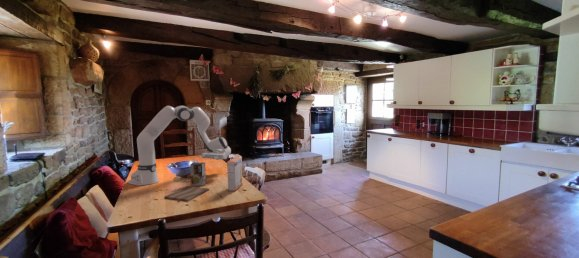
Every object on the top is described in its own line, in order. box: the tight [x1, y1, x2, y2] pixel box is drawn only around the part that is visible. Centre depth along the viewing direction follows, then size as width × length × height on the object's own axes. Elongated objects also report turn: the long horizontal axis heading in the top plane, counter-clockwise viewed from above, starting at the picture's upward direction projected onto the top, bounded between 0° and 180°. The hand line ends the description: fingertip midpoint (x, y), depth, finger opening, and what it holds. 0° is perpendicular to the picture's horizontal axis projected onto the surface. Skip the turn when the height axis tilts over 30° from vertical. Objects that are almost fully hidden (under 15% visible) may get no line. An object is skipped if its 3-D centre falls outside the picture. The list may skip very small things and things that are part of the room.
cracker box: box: [226, 156, 243, 192], centre depth 195 cm, size 14×6×21 cm, turn 170°
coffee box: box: [189, 161, 207, 187], centre depth 203 cm, size 9×6×16 cm
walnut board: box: [164, 185, 210, 202], centre depth 183 cm, size 18×22×1 cm
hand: (208, 157), depth 214 cm, fingers open, 8 cm apart
